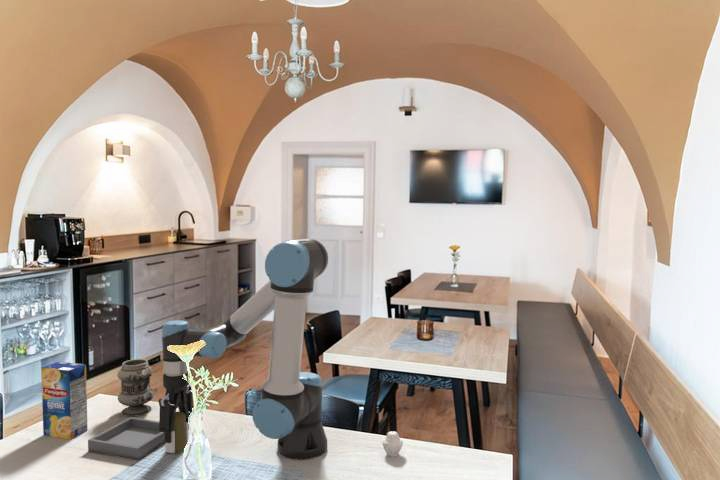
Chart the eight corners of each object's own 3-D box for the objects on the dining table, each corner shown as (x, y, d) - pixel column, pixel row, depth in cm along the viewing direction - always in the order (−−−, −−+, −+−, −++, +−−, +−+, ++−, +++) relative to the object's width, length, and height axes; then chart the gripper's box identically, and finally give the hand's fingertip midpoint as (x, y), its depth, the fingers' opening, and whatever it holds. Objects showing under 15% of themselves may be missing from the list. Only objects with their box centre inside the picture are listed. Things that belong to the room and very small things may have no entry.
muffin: (400, 460, 154) (400, 437, 153) (379, 457, 156) (380, 434, 155) (404, 451, 160) (405, 428, 159) (385, 448, 162) (385, 425, 161)
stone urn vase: (135, 403, 197) (134, 355, 196) (161, 407, 193) (161, 358, 192) (110, 415, 185) (109, 364, 184) (137, 420, 181) (136, 368, 180)
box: (177, 434, 170) (177, 424, 170) (138, 460, 153) (137, 448, 152) (131, 427, 175) (130, 417, 175) (88, 451, 158) (87, 439, 158)
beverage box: (71, 439, 166) (69, 370, 165) (43, 435, 169) (40, 367, 168) (87, 430, 173) (86, 364, 171) (60, 426, 176) (58, 361, 174)
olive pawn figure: (181, 453, 157) (180, 417, 156) (162, 451, 158) (162, 416, 157) (191, 444, 163) (191, 410, 162) (173, 443, 164) (173, 408, 163)
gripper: (184, 362, 169) (185, 432, 171) (144, 381, 151) (145, 459, 153) (205, 364, 167) (206, 436, 168) (166, 383, 149) (167, 463, 150)
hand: (177, 447), depth 160 cm, fingers closed on olive pawn figure, 6 cm apart
